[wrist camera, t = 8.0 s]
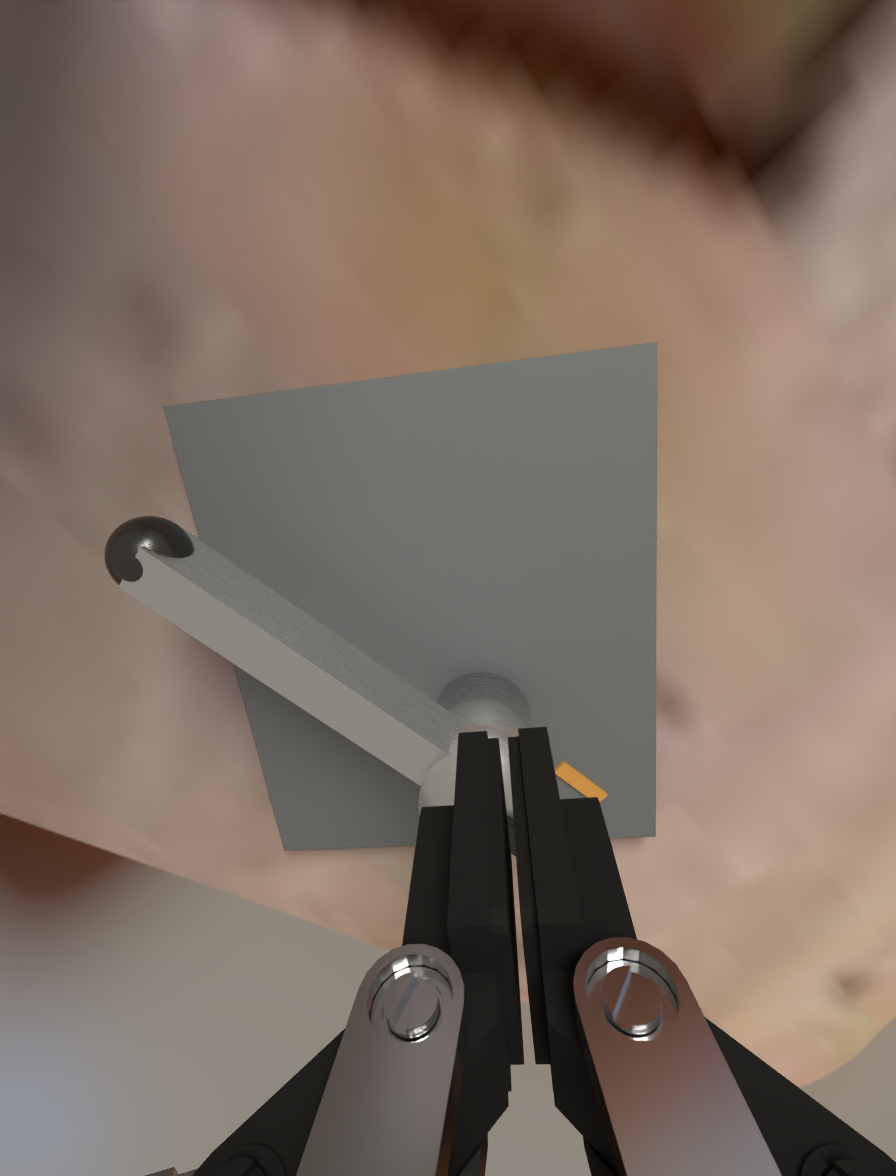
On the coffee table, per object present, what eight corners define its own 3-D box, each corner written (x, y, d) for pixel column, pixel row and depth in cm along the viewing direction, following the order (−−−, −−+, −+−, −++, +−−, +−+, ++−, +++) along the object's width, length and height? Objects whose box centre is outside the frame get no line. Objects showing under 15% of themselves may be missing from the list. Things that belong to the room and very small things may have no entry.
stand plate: (180, 405, 27) (160, 406, 26) (647, 344, 25) (658, 341, 23) (292, 832, 36) (282, 853, 34) (648, 817, 33) (656, 839, 32)
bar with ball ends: (159, 547, 28) (43, 603, 20) (205, 464, 26) (98, 494, 19) (547, 808, 31) (563, 934, 24) (608, 750, 30) (645, 865, 23)
